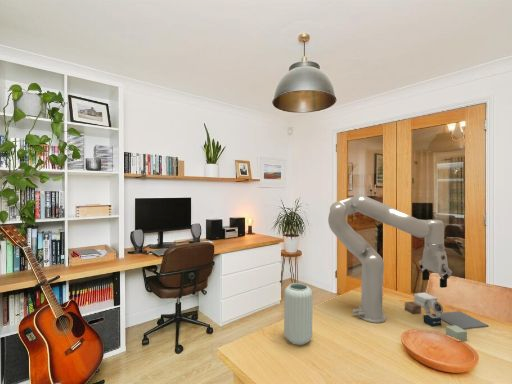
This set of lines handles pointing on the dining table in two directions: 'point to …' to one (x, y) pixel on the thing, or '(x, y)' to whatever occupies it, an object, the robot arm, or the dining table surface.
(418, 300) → the small box
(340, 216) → the robot arm
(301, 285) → the vase
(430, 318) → the watch
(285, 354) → the dining table surface
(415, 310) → the walnut block
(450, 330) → the sage block
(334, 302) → the dining table surface
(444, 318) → the slate mat
